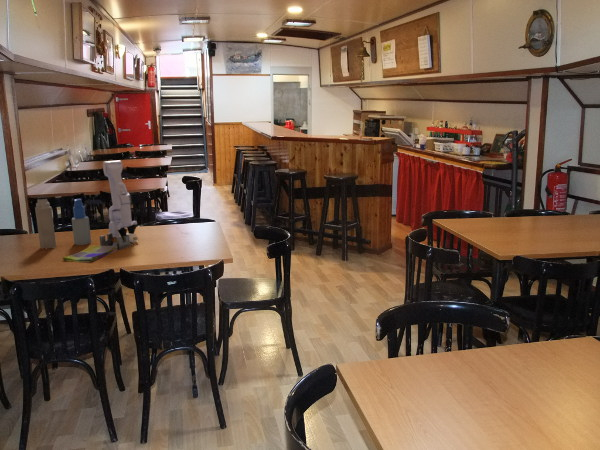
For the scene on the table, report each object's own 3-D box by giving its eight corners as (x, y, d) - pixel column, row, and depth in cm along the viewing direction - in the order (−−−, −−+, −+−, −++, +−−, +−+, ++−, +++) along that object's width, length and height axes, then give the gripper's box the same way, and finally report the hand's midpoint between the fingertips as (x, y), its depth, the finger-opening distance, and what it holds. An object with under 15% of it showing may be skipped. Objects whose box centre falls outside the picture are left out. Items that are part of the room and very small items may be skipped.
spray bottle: (82, 240, 321) (78, 197, 316) (94, 241, 317) (90, 198, 312) (70, 244, 313) (65, 200, 308) (82, 245, 310) (77, 201, 304)
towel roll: (116, 242, 316) (115, 233, 315) (122, 239, 320) (121, 231, 319) (134, 244, 310) (133, 235, 309) (140, 241, 315) (139, 233, 314)
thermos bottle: (47, 245, 313) (41, 195, 306) (59, 245, 310) (53, 195, 304) (37, 248, 305) (30, 198, 299) (48, 249, 303) (42, 198, 297)
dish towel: (60, 261, 281) (60, 256, 281) (91, 249, 304) (91, 244, 304) (90, 263, 277) (90, 258, 276) (119, 250, 299) (119, 245, 299)
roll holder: (98, 247, 305) (97, 236, 304) (111, 243, 314) (110, 232, 312) (119, 249, 299) (118, 238, 298) (132, 245, 308) (131, 234, 306)
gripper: (122, 219, 304) (124, 243, 307) (140, 213, 317) (142, 237, 320) (112, 218, 307) (114, 242, 310) (130, 212, 320) (132, 236, 323)
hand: (127, 239), depth 315 cm, fingers closed on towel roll, 5 cm apart
